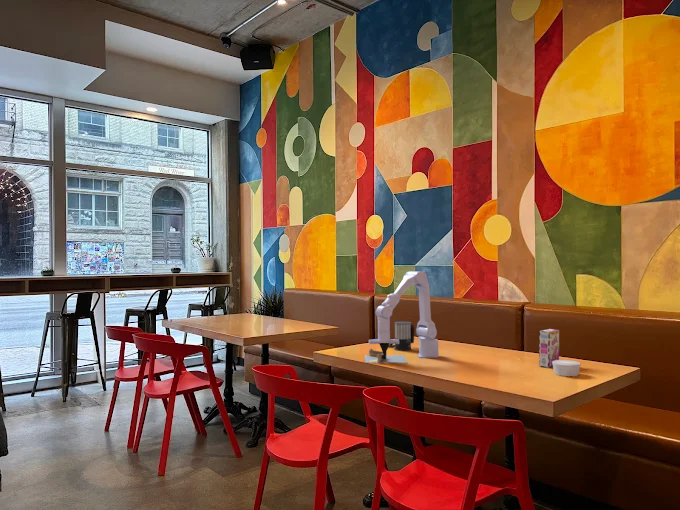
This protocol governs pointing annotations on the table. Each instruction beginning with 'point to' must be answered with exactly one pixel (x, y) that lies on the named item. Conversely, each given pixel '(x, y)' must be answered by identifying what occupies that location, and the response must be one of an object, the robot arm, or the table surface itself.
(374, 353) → the fence fixed
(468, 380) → the table surface
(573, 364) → the ramekin
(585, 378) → the table surface
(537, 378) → the table surface
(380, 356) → the fence swing
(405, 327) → the milk frother
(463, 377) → the table surface
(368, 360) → the card
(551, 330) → the candy bar box
